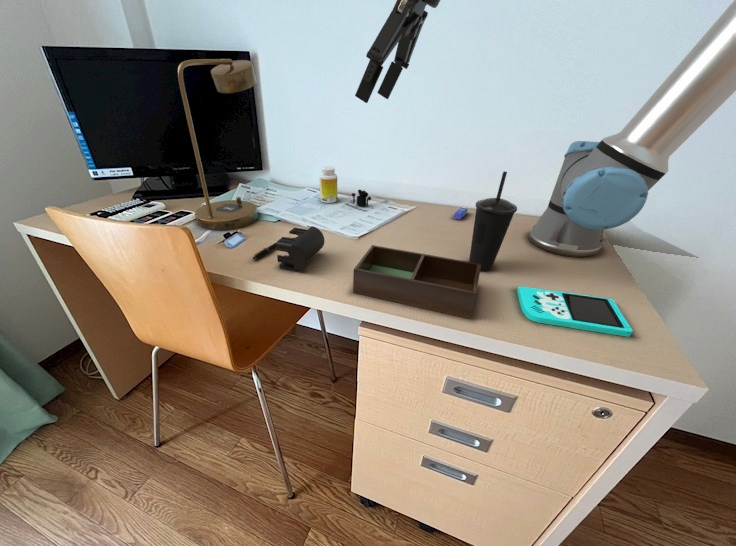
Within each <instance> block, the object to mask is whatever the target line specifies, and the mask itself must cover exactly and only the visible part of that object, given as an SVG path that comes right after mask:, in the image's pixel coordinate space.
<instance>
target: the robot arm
mask: <svg viewBox="0 0 736 546" xmlns="http://www.w3.org/2000/svg"><path fill="white" fill-rule="evenodd" d="M440 2H441V0H396V1H395V4H394V6H393V7H392V9H391V11H390V14H389V15H388V17H387V18H386V20H385V22H384V24H383V26H382V28H381V29H380V31H379V32H378V34H377V36H376V38H375V39H374V41H373V43H372V44H371V46H370V48H369V49H368V50H367V52H366V58H367V59H369V61H368V63H367V66H366V68H365V71H364V73H363V75H362V78H361V79H360V83H359V85H358V87H357V90H356V92H355V93H354V94H355V95H354V97H356V98H358V99H359V100H361V101H362V102H364V103H365V104H367V103H369V100H370V98H371V96H372V93H373V92H374V89H375V87H376V85H377V82H379V79H380V76H381V74H382V72H383V69H384V66H383V65H384V63H385V62H386V61H387V59H388V57H389V56H390V54H391V53H392V52H393V50H394V49H395V48H396V51H395V55H394V60H393V61H391V62H390V64H389V66H388V69H387V70H386V73H385V75H384V77H383V79H382V81H381V84H380V85H379V88H378V90H377V94H378V95H380V96H381V97H382V98H384V99H386V100H389V98H390V96H391V94H392V92H393V90H394V88H395V86H396V84H397V82H398V80H399V78H400V76H401V74H402V72H403V69H405V70H408V68H409V66H410V61H411V58H412V55H413V53H414V50H415V47H416V44H417V42H418V39H419V36H420V33H421V31H422V30H423V26H424V24H425V21H426V19H427V18H428V16H429V12H428V11H426V10H425V9H426V7H427V5H428V7H431V8H433V9H436V8H437V7H438V6H439V4H440ZM396 46H397V47H396ZM735 92H736V0H733V1H732V2H731V3H730V5H729V6H728V7H727V8H726V10H725V11H724V12H723V13H722V14H720V16H719V17H718V18H717V20H716V21H715V22H714V23H713V24H712V25H711V27H710V28H709V29H708V30H707V31H706V32H705V33H704V35H703V36H702V37H701V38H700V39H699V41H698V42H697V43H696V44H695V45H694V46H693V47H692V48H691V49H690V51H689V52H688V53H687V54H686V55H685V56H684V57H683V59H682V60H681V61H680V62H679V64H678V65H677V66H676V67H675V68H674V69H673V70H672V72H671V73H670V74H669V75H668V76H667V77H666V78H665V80H664V81H663V82H662V83H661V84H660V86H659V87H658V88H657V89H656V90H655V91H654V92H653V93H652V95H651V96H650V97H649V98H648V99H647V100H646V102H645V103H644V104H643V105H642V107H640V108H639V110H638V111H637V112H636V113H635V114H634V115H633V117H632V118H631V119H630V120H629V121H628V122H627V124H626V125H624V127H623V128H622V129H621V130H620V132H617V133H615V134H612V135H608V136H605V137H603V138H602V139H601V140H600V141H590V140H588V141H587V140H575V141H573V142H571V143H570V145H569V146H568V148H567V150H566V152H565V153H564V156H563V157H564V158H563V162H562V165H561V168H560V170H559V173H558V176H557V179H556V182H555V184H554V187H553V190H552V193H551V195H550V199H549V201H548V205H547V207H546V209H545V210H544V212H543V213H542V214H541V216H540V217H539V219H538V220H537V222H536V223H535V224H534V225H533V226H532V227H531V229H530V231H529V234H528V239H529V241H530V242H531V244H532V245H534V246H535V247H538V248H539V249H541V250H544V251H547V252H549V253H553V254H556V255H561V256H565V257H573V258H575V257H576V258H586V257H593V256H595V255H597V254H598V253H600V251H601V249H602V247H603V244H604V239H603V238H604V230H610V229H611V230H612V229H615V228H617V227H620V226H622V225H624V224H626V223H628V222H630V221H631V220H632V219H634V218H635V217H636V216H638V214H640V212H641V211H642V210H643V208H644V206H645V204H646V202H647V200H648V195H649V191H650V190H651V189H652V188H653V187H654V186H655V185H656V184H657V183H658V182H659V181H660V180H661V179H662V178H663V177H664V176H665V175H666V174H667V173H668V172H669V160H670V157H671V156H672V155H673V154H675V152H676V151H677V150H678V149H679V148H680V147H681V146H682V145H683V144H684V143H685V142H686V141H687V140H688V139H689V138H690V137H691V136H692V135H693V134H694V133H695V132H696V131H697V130H698V129H699V128H700V127H702V126H703V124H705V122H706V121H707V120H708V119H709V118H711V116H712V115H713V114H714V113H715V112H716V111H717V110H718V109H719V108H720V107H722V105H723V104H724V103H725V102H726V101H728V99H730V97H731V96H733V94H735Z"/></svg>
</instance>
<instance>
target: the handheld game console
mask: <svg viewBox="0 0 736 546" xmlns="http://www.w3.org/2000/svg"><path fill="white" fill-rule="evenodd" d="M516 293H517V297H518V301H519V306H520V310H521V312H522V313H523V315H524V316H525V317H526V318H527V319H528V320H530V321H532V322H534V323H538V324H545V325H551V326H557V327H565V328H570V329H577V330H582V331H587V332H595V333H600V334H601V333H602V334H608V335H613V336H614V335H615V336H619V337H620V336H621V337H627V338H629V337H630V336H631V335H632V334H633V329H632V327H631V325H630V324H629V322H628V320H627V319H626V318H625V316H624V313H622V311H621V309H620V308H619V306H618V305H617V303H616V301H615V300H614V299H612V298H608V297H601V296H594V295H586V294H579V293H572V292H566V291H565V292H564V291H559V290H552V289H551V290H550V289H544V288H536V287H529V286H521V285H520V286H518V288H517V291H516Z"/></svg>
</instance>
